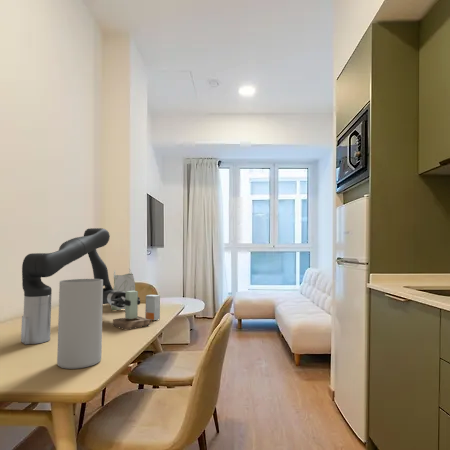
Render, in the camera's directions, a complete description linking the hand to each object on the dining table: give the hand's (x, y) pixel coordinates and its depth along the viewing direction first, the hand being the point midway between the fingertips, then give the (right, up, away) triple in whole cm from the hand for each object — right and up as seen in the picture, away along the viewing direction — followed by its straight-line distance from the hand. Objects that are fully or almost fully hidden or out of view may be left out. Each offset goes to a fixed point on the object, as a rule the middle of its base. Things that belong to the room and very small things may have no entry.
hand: (134, 302), depth 156 cm
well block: (-2, -11, +1) cm, 11 cm away
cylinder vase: (-4, -7, -50) cm, 51 cm away
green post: (-2, -7, +2) cm, 8 cm away
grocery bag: (-22, -15, +56) cm, 62 cm away
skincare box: (+5, -12, +14) cm, 19 cm away
